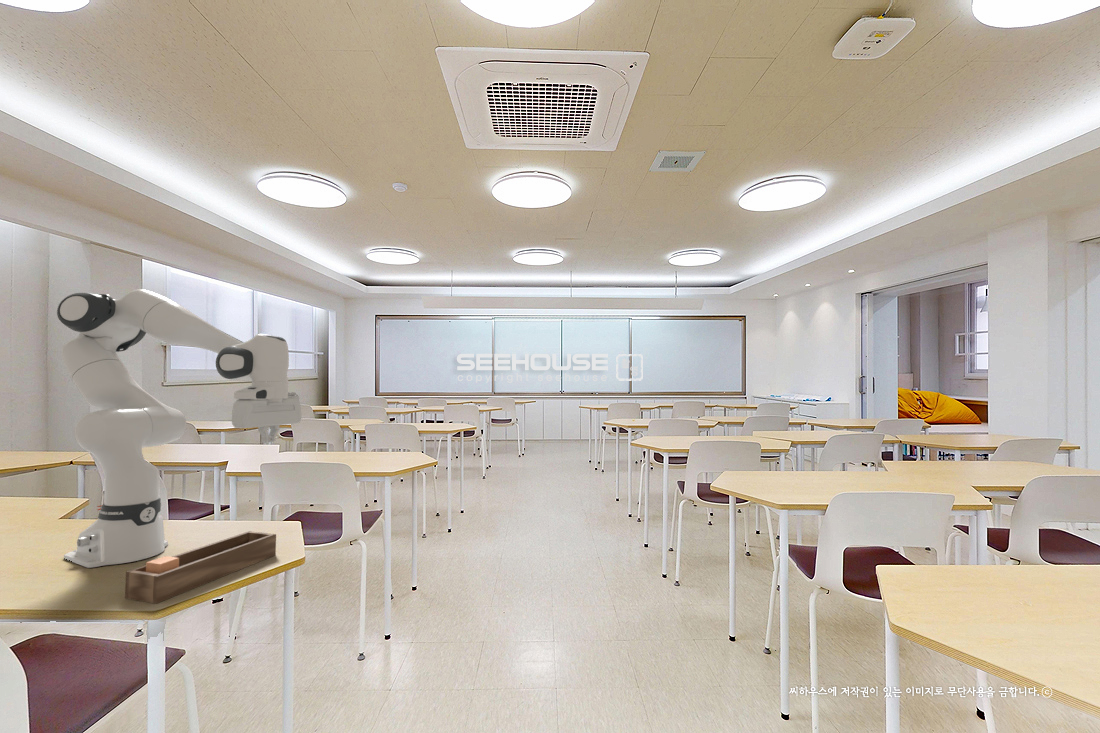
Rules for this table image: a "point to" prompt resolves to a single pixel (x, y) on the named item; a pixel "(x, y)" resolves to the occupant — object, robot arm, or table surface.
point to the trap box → (200, 567)
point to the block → (162, 564)
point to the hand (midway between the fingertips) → (268, 442)
